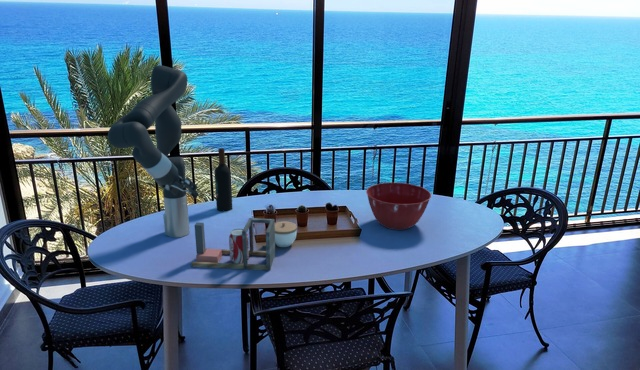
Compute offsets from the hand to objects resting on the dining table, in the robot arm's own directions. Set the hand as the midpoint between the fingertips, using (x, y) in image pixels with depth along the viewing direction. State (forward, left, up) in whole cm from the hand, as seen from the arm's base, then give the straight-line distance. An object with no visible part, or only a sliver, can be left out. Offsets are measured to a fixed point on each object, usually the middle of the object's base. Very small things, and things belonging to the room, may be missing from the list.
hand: (186, 194), depth 154 cm
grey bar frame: (+14, +6, -28) cm, 32 cm away
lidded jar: (+30, +22, -28) cm, 47 cm away
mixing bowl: (+78, +47, -28) cm, 96 cm away
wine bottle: (-4, +58, -28) cm, 65 cm away
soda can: (+16, +6, -28) cm, 33 cm away
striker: (+4, +6, -28) cm, 29 cm away
